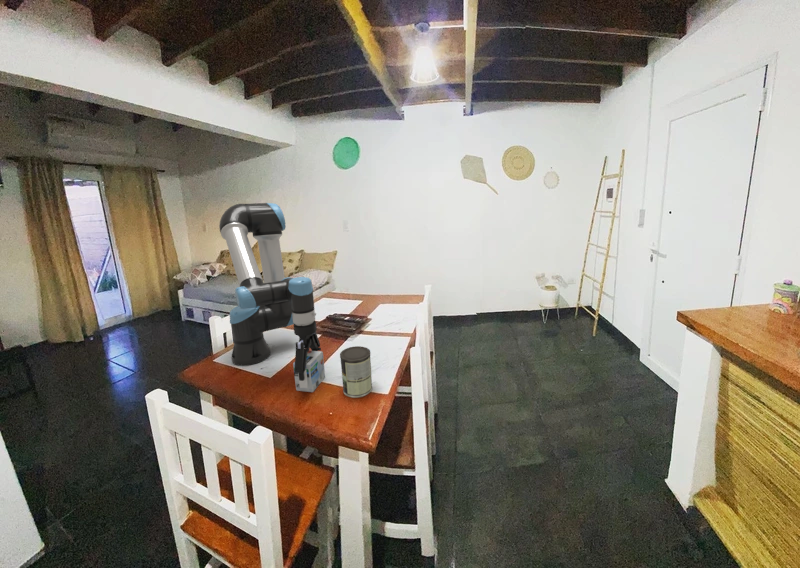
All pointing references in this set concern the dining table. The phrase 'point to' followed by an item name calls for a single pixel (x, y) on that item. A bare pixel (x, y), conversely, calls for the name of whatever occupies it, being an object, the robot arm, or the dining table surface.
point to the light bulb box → (312, 371)
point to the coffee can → (356, 371)
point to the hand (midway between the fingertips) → (310, 376)
